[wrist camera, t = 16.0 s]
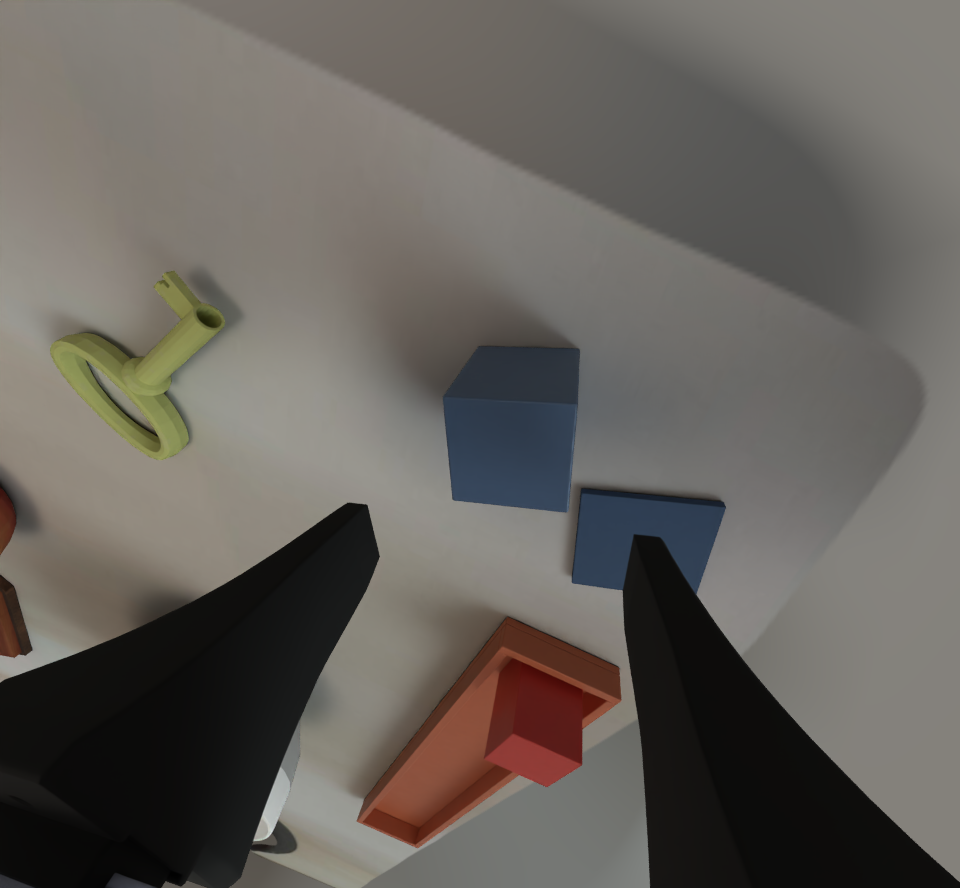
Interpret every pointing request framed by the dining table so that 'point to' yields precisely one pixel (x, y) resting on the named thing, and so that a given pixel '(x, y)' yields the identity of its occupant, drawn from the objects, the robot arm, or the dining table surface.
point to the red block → (535, 724)
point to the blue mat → (622, 515)
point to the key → (142, 371)
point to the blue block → (513, 427)
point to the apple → (6, 520)
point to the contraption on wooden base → (11, 623)
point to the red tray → (474, 736)
